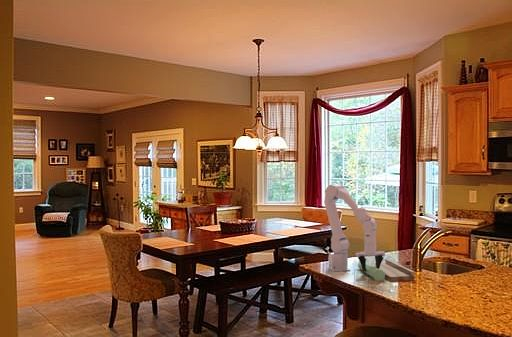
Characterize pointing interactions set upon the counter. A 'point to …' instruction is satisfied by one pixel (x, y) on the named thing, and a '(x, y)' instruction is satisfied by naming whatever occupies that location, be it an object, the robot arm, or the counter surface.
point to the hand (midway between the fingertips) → (370, 270)
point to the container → (373, 271)
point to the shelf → (395, 271)
